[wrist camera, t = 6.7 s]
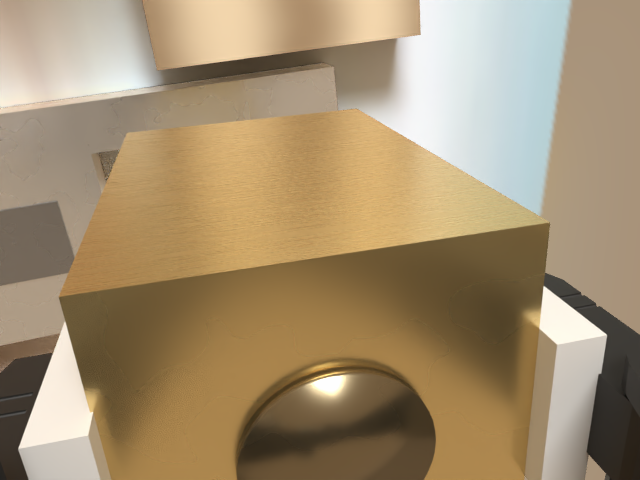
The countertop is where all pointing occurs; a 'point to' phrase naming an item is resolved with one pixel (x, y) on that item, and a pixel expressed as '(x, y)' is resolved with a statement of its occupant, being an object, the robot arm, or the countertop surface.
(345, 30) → the pedestal
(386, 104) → the countertop surface
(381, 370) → the cube with dome knob
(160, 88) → the beige panel with cutout
